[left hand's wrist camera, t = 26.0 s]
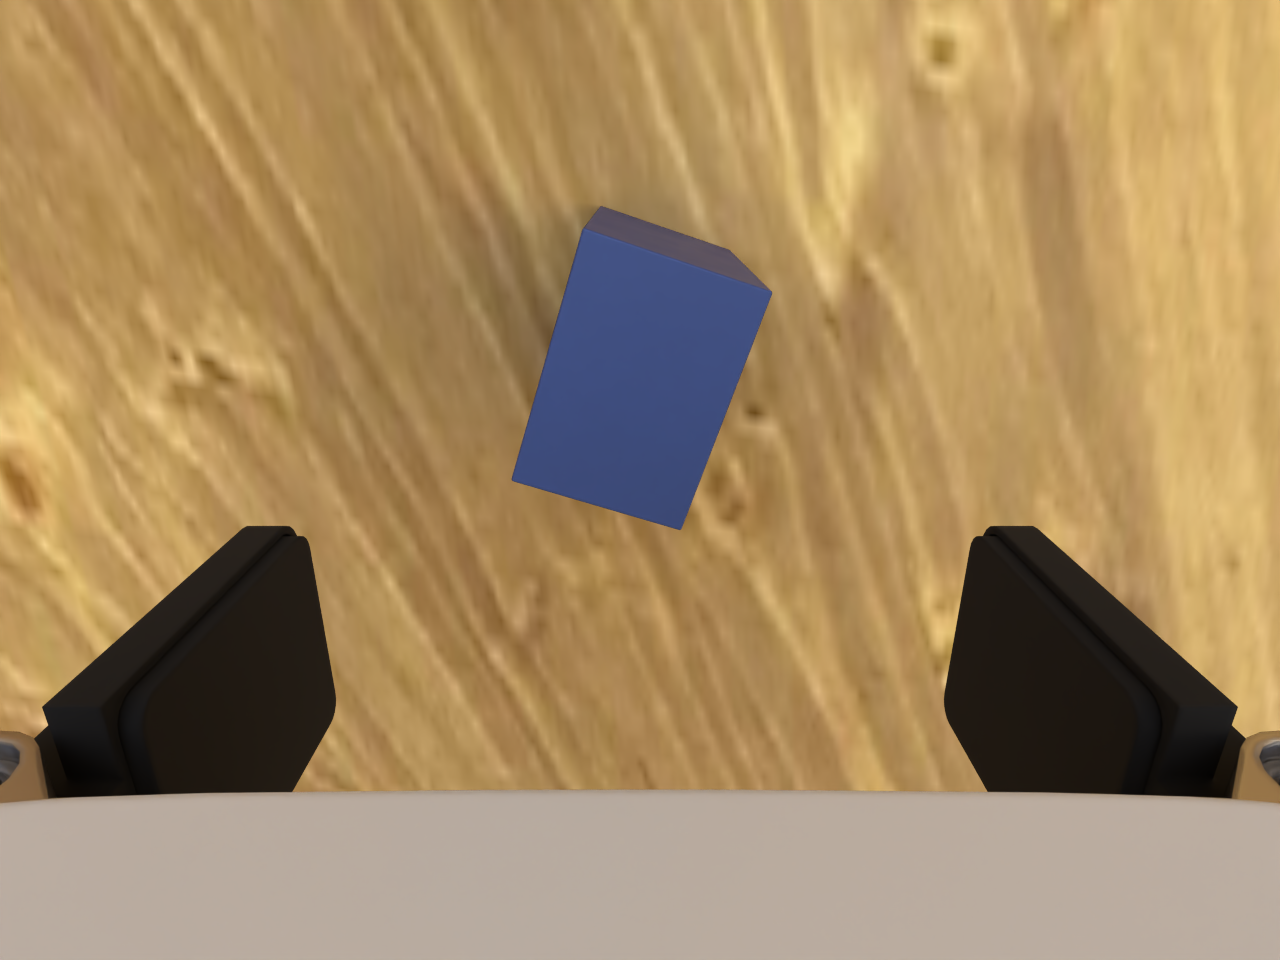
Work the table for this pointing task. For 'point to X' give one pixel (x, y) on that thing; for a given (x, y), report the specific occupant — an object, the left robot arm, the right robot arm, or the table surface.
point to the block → (640, 368)
